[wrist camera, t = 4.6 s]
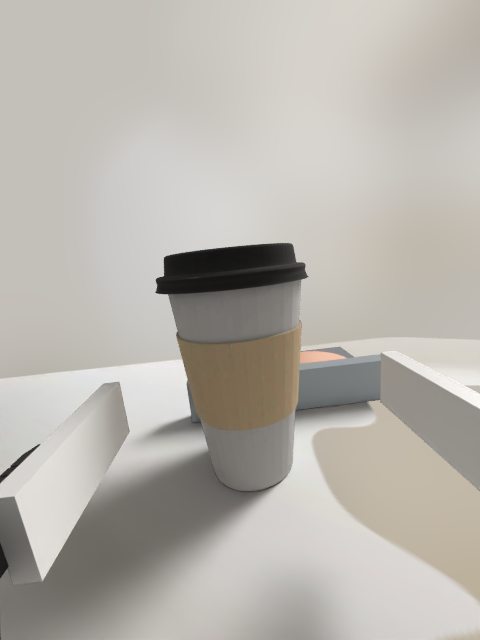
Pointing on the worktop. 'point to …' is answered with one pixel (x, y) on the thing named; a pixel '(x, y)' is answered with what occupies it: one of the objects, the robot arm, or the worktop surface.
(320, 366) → the blue-grey rectangular bar
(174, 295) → the coffee cup
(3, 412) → the worktop surface
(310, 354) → the mat
